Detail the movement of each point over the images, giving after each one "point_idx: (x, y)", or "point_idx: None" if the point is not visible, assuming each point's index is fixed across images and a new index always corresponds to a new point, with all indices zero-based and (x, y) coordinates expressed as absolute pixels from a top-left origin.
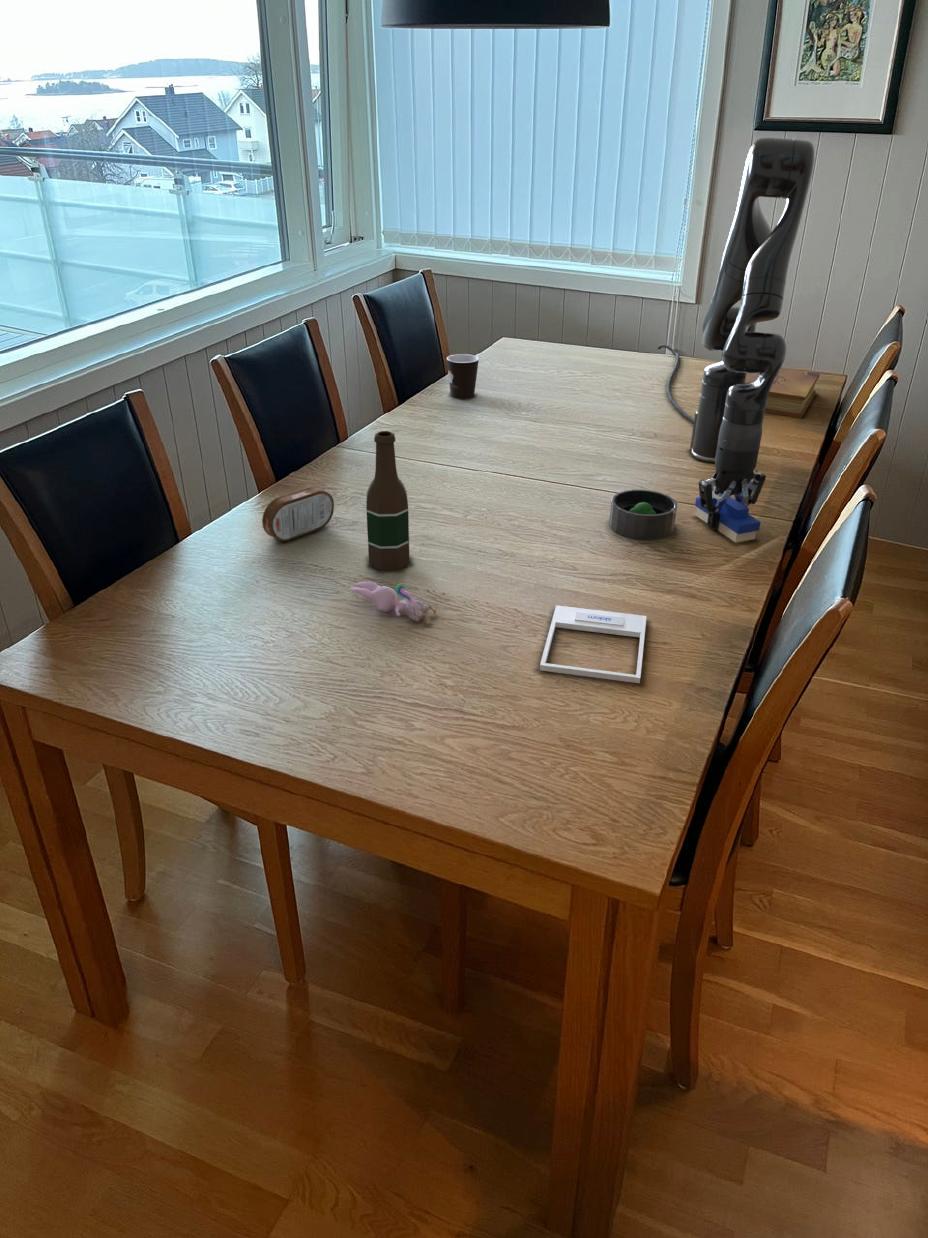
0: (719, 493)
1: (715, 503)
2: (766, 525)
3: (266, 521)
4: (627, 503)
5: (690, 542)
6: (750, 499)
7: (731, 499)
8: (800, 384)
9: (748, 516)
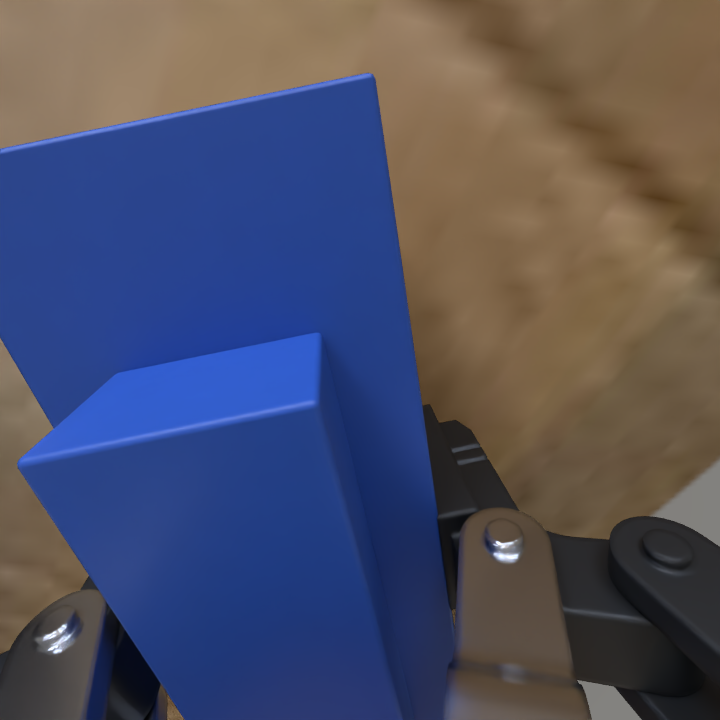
0: (233, 520)
1: (102, 683)
2: (636, 427)
3: None
4: None
5: (15, 582)
6: (626, 677)
7: (350, 703)
8: None
9: (431, 711)
